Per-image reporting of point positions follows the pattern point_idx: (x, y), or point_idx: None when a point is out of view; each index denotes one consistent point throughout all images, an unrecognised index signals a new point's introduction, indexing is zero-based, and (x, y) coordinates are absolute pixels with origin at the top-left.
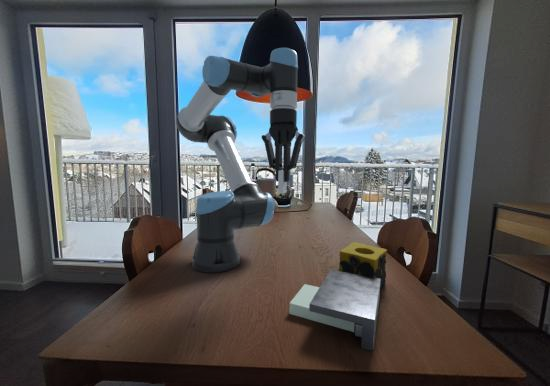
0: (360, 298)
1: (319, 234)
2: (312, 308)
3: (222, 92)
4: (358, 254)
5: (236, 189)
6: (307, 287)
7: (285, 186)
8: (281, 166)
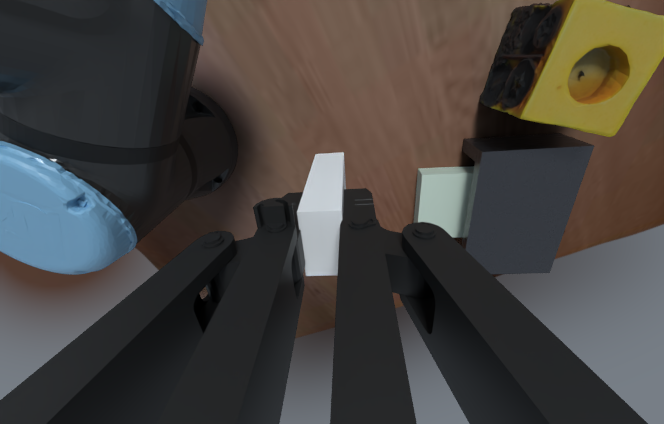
0: (537, 234)
1: None
2: None
3: None
4: (573, 119)
5: None
6: (430, 184)
7: (344, 180)
8: (294, 247)
